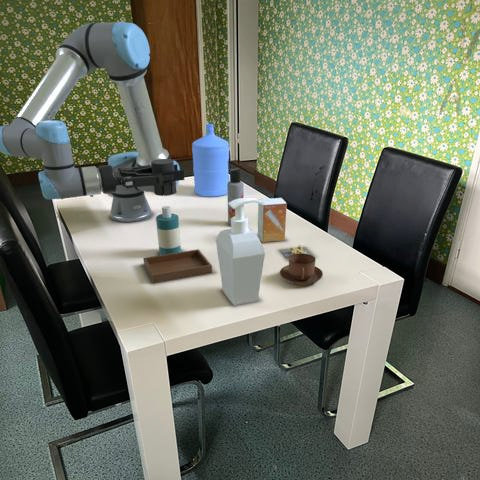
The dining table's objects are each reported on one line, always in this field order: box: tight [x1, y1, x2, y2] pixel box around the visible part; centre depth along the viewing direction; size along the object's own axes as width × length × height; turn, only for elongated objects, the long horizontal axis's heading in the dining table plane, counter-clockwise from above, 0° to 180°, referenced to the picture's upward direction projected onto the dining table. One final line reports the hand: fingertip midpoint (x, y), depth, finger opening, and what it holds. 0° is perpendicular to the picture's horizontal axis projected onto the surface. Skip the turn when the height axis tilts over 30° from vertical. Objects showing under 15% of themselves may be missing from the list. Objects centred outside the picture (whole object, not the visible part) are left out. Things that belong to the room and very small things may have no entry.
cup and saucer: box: [279, 253, 324, 285], centre depth 130 cm, size 12×12×6 cm
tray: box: [142, 248, 213, 284], centre depth 137 cm, size 13×17×2 cm
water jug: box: [191, 123, 230, 198], centre depth 198 cm, size 16×16×28 cm
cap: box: [151, 158, 178, 197], centre depth 134 cm, size 6×6×9 cm
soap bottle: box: [215, 197, 266, 306], centre depth 117 cm, size 12×10×26 cm
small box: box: [257, 197, 288, 243], centre depth 155 cm, size 8×6×13 cm
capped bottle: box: [155, 205, 182, 255], centre depth 144 cm, size 7×7×15 cm
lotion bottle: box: [226, 167, 244, 227], centre depth 165 cm, size 6×6×20 cm
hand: (180, 172), depth 135 cm, fingers closed on cap, 6 cm apart
